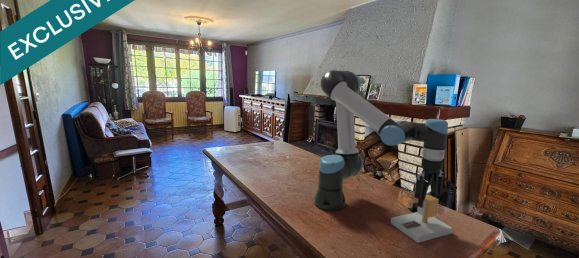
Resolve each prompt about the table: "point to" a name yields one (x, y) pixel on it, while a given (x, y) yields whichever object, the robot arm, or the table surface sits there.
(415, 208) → the black power adapter
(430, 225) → the junction plate
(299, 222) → the table surface
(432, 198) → the cardboard-colored cube
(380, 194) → the table surface
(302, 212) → the table surface
